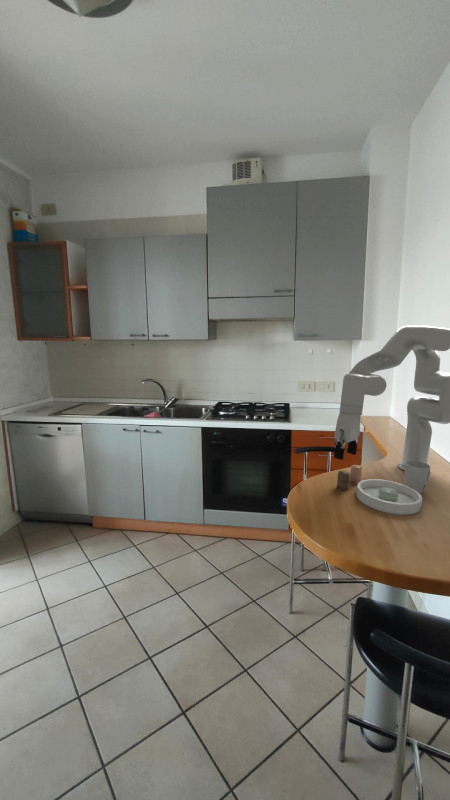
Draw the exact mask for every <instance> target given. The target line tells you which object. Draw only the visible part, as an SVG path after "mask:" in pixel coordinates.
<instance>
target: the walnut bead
mask: <svg viewBox="0 0 450 800" xmlns="http://www.w3.org/2000/svg"><path fill="white" fill-rule="evenodd" d="M337 473H338V474H337V479H336V480H337V482H336V489H337V488H338V489H337V490H339V489H341V490H340V491H343V490H347V491H348V490H349V486H350V485H349V484H350V472H349V471H346V470H338V472H337Z"/></svg>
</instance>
